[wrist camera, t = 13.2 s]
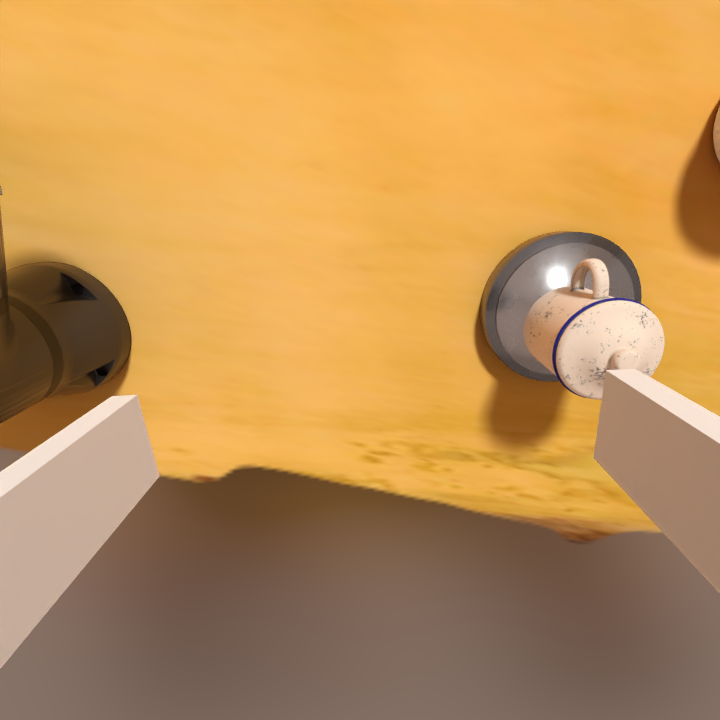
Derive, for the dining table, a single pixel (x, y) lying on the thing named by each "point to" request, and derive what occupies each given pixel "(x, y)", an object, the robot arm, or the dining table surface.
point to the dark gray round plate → (544, 289)
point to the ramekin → (717, 134)
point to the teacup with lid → (591, 332)
